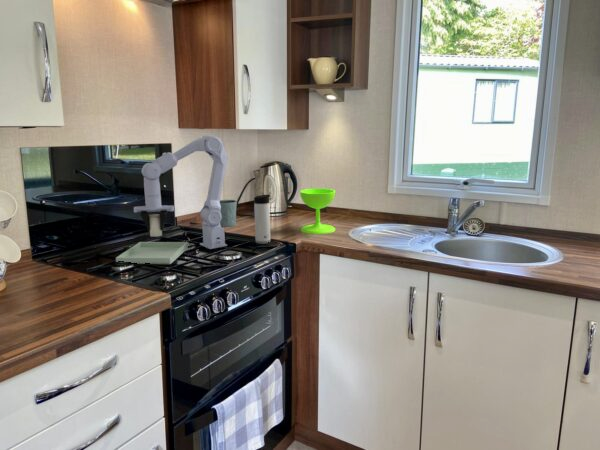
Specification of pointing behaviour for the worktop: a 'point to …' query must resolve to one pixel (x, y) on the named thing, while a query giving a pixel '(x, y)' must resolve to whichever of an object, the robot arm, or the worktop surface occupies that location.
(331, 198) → the wineglass
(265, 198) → the travel mug
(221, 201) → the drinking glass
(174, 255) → the tray
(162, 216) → the robot arm
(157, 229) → the spice pot
